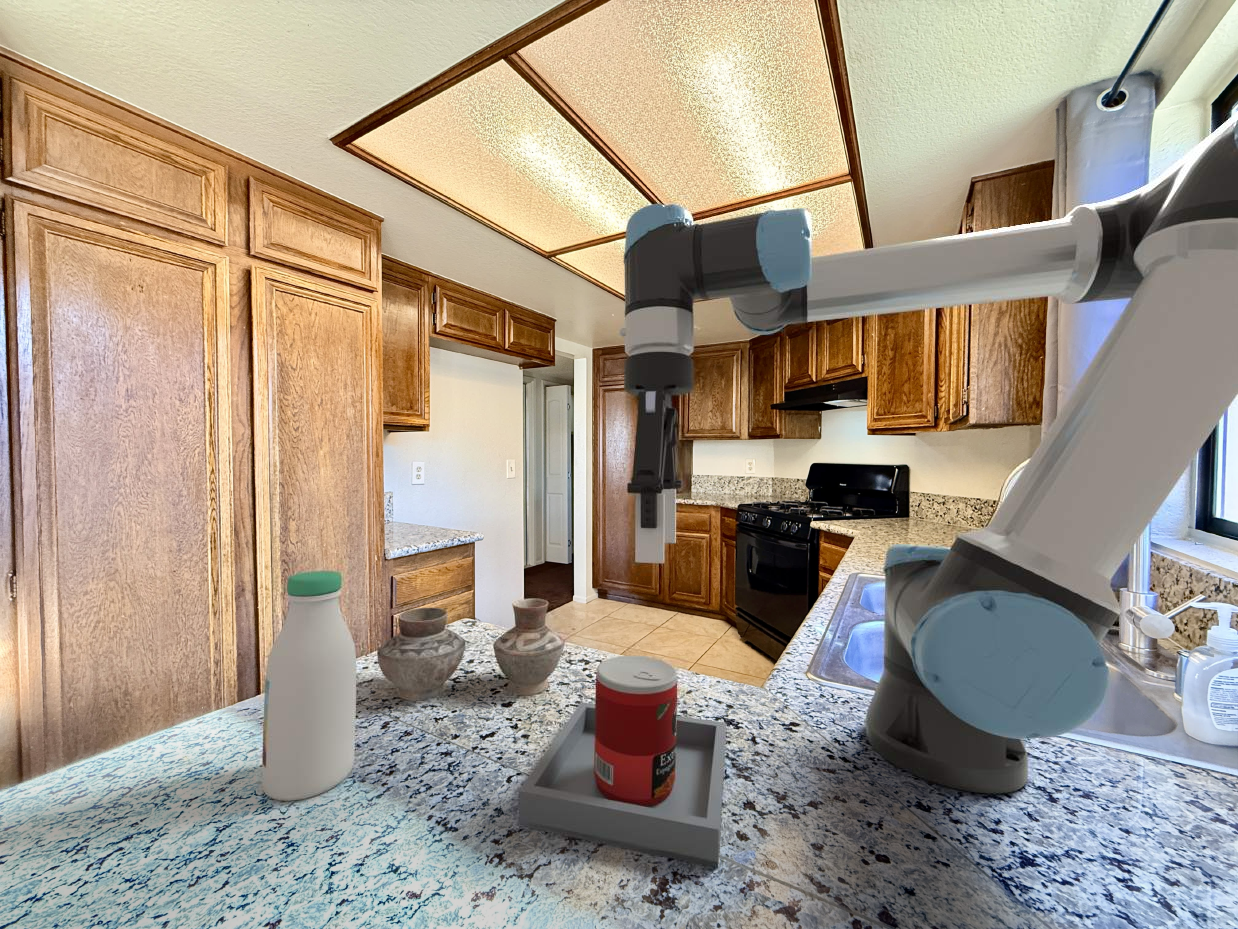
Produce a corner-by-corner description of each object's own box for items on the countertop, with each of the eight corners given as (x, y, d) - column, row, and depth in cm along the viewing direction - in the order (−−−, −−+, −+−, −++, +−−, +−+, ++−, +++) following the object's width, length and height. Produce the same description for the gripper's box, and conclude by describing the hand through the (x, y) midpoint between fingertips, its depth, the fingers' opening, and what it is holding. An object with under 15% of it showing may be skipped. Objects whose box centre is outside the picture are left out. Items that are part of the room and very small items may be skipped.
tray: (725, 749, 55) (726, 722, 55) (718, 868, 39) (718, 829, 39) (580, 727, 59) (581, 702, 59) (517, 825, 43) (518, 790, 43)
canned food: (670, 816, 44) (673, 691, 44) (583, 801, 45) (586, 681, 45) (678, 766, 51) (681, 659, 51) (603, 755, 53) (606, 651, 53)
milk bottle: (371, 762, 51) (376, 569, 52) (306, 811, 44) (312, 586, 44) (312, 749, 54) (317, 564, 54) (240, 794, 46) (246, 579, 46)
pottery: (565, 703, 65) (567, 613, 66) (363, 715, 61) (365, 618, 62) (561, 669, 77) (563, 591, 77) (390, 677, 73) (392, 595, 73)
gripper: (641, 379, 67) (641, 535, 67) (598, 325, 43) (597, 572, 42) (697, 377, 66) (697, 537, 65) (686, 320, 41) (685, 576, 41)
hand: (658, 551), depth 54 cm, fingers open, 13 cm apart
